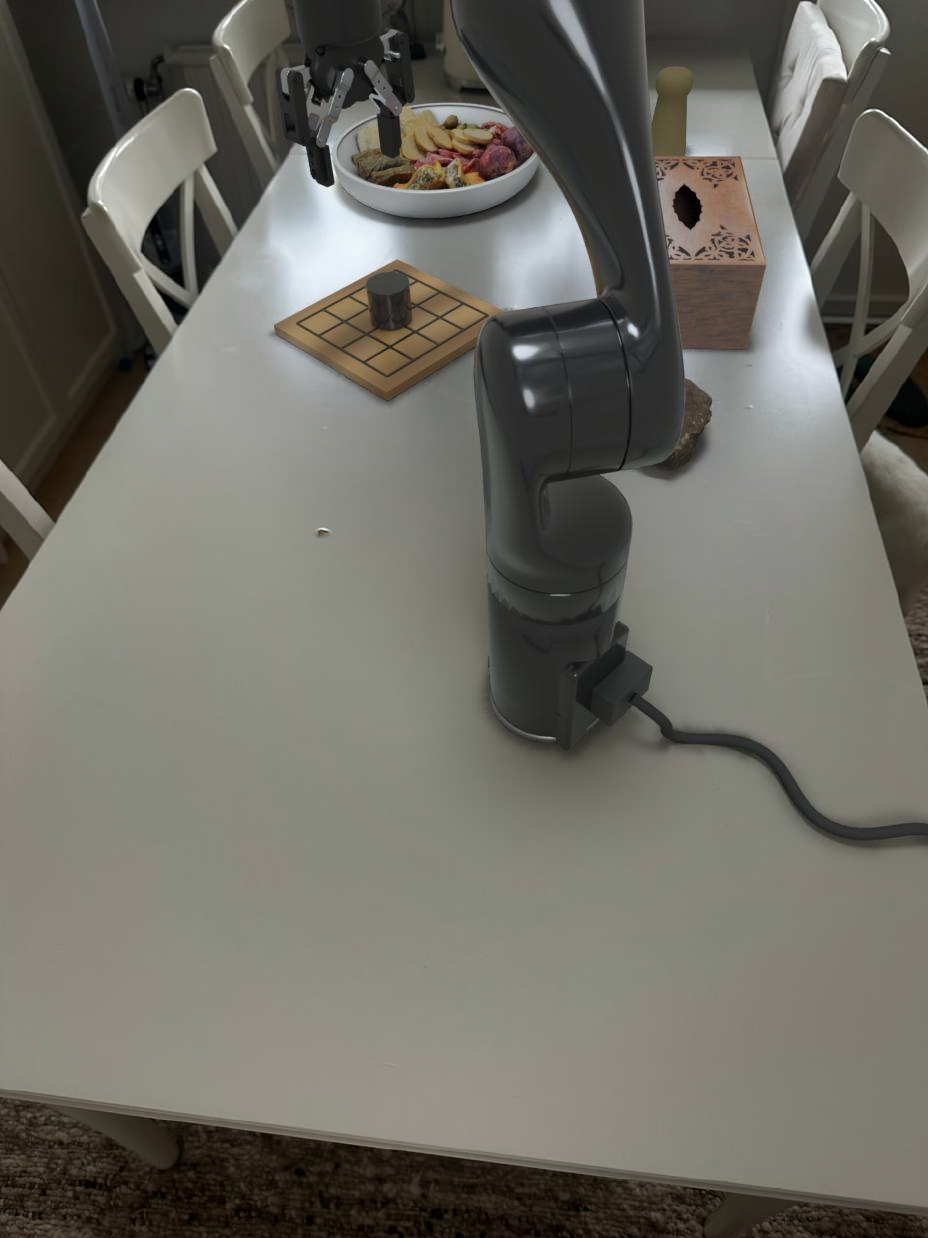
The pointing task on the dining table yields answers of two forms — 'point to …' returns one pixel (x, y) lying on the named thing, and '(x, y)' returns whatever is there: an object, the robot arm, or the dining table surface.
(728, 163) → the tissue box cover
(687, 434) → the stone
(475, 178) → the bowl
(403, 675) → the dining table surface
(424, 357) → the board
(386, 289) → the dark grey short cylinder
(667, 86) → the pepper shaker
